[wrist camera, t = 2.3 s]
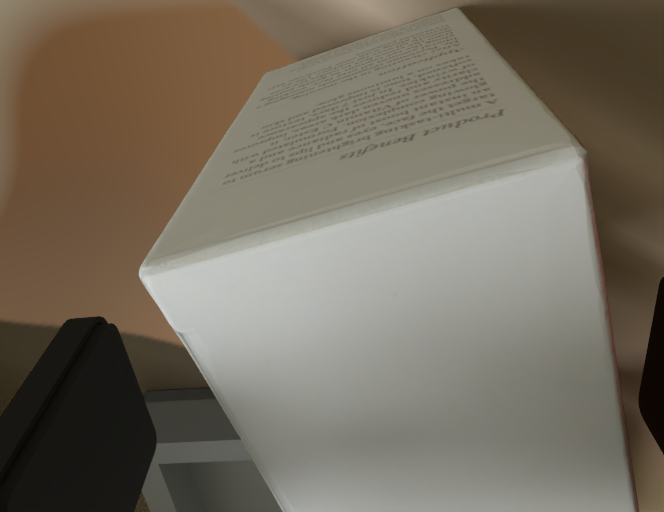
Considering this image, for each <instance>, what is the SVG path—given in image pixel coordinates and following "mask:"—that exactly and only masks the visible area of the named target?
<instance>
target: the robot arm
mask: <svg viewBox="0 0 664 512" xmlns="http://www.w3.org/2000/svg"><path fill="white" fill-rule="evenodd" d="M638 400H639V408H640V412H641V415H642V417H643V419H644V421H645V423H646V425H647V426H648V428H649V430H650V432H651V433H652V435H653V437H654V439H655V440H656V442H657V444H658V446H659V447H660V449H661V451H662V452H663V454H664V277H663V278H662V279H661V281H660V284H659V289H658V294H657V300H656V305H655V311H654V316H653V321H652V327H651V332H650V338H649V343H648V348H647V354H646V359H645V365H644V370H643V375H642V381H641V386H640V392H639V399H638ZM156 445H157V436H156V430H155V427H154V425H153V422H152V419H151V417H150V414H149V411H148V409H147V406H146V403H145V401H144V398H143V395H142V393H141V390H140V387H139V385H138V382H137V379H136V377H135V374H134V371H133V369H132V366H131V363H130V361H129V358H128V355H127V352H126V350H125V347H124V344H123V342H122V339H121V336H120V334H119V331H118V329H117V327H116V326H115V325H114V324H112V323H111V324H108V323H107V321H106V320H105V319H104V318H103V317H100V316H98V317H88V318H75V319H69V320H67V321H66V322H65V323H64V324H63V326H62V327H61V328H60V330H59V331H58V333H57V334H56V336H55V337H54V339H53V340H52V342H51V343H50V345H49V346H48V348H47V349H46V350H45V352H44V353H43V355H42V356H41V358H40V359H39V361H38V362H37V364H36V365H35V367H34V368H33V370H32V371H31V372H30V374H29V375H28V377H27V378H26V380H25V381H24V383H23V384H22V386H21V387H20V389H19V390H18V392H17V393H16V394H15V396H14V397H13V399H12V400H11V402H10V403H9V405H8V406H7V408H6V409H5V411H4V412H3V414H2V415H1V416H0V512H134V510H135V507H136V504H137V502H138V499H139V496H140V493H141V490H142V487H143V485H144V482H145V479H146V476H147V473H148V470H149V468H150V465H151V462H152V459H153V456H154V454H155V450H156Z"/></svg>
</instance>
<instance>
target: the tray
mask: <svg viewBox="0 0 664 512" xmlns="http://www.w3.org/2000/svg"><path fill="white" fill-rule="evenodd" d="M143 398H144V401H145V403H146V406H147V409H148V411H149V414H150V417H151V419H152V422H153V425H154V427H155V430H156V436H157V445H156V450H155V454H154V456H153V459H152V462H151V465H150V468H149V470H148V473H147V476H146V479H145V482H144V485H143V487H142V490H141V491H142V494H143V496H144V498H145V501H146V503H147V505H148V508H149V510H150V512H283V511H282V509H281V508H280V506H279V504H278V503H277V501H276V499H275V497H274V495H273V494H272V492H271V490H270V488H269V487H268V485H267V483H266V482H265V480H264V478H263V477H262V475H261V473H260V472H259V470H258V468H257V466H256V465H255V463H254V461H253V460H252V458H251V456H250V455H249V453H248V451H247V450H246V448H245V446H244V444H243V442H242V440H241V438H240V437H239V435H238V434H237V432H236V430H235V429H234V427H233V425H232V424H231V422H230V420H229V418H228V417H227V415H226V414H225V412H224V410H223V409H222V407H221V405H220V404H219V402H218V400H217V399H216V397H215V395H214V394H213V392H212V390H211V388H198V389H180V390H163V391H146V393H145V395H144V397H143Z"/></svg>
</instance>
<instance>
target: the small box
mask: <svg viewBox="0 0 664 512" xmlns="http://www.w3.org/2000/svg"><path fill="white" fill-rule="evenodd" d="M139 277H140V279H141V281H142V282H143V284H144V286H145V287H146V289H147V291H148V292H149V293H150V295H151V296H152V298H153V299H154V301H155V302H156V303H157V305H158V306H159V308H160V309H161V311H162V313H163V314H164V316H165V318H166V319H167V321H168V323H169V324H170V325H171V326H172V328H173V329H174V330H175V332H176V334H177V335H178V336H179V338H180V340H181V341H182V343H183V344H184V346H185V347H186V349H187V351H188V352H189V354H190V355H191V357H192V359H193V360H194V362H195V363H196V365H197V367H198V368H199V370H200V372H201V373H202V375H203V377H204V378H205V380H206V382H207V383H208V385H209V387H210V388H211V390H212V392H213V394H214V395H215V397H216V399H217V400H218V402H219V404H220V405H221V407H222V409H223V410H224V412H225V414H226V415H227V417H228V418H229V420H230V422H231V424H232V425H233V427H234V429H235V430H236V432H237V434H238V435H239V437H240V438H241V440H242V442H243V444H244V446H245V448H246V450H247V451H248V453H249V455H250V456H251V458H252V460H253V461H254V463H255V465H256V466H257V468H258V470H259V472H260V473H261V475H262V477H263V478H264V480H265V482H266V483H267V485H268V487H269V488H270V490H271V492H272V494H273V495H274V497H275V499H276V501H277V503H278V504H279V506H280V508H281V509H282V511H283V512H639V508H638V501H637V495H636V488H635V482H634V475H633V468H632V461H631V455H630V448H629V441H628V434H627V427H626V420H625V414H624V408H623V401H622V394H621V387H620V379H619V373H618V366H617V359H616V353H615V346H614V340H613V333H612V326H611V319H610V312H609V305H608V298H607V291H606V284H605V277H604V270H603V263H602V256H601V249H600V243H599V237H598V231H597V225H596V218H595V211H594V205H593V198H592V191H591V184H590V177H589V164H588V155H587V151H586V149H585V148H584V147H583V145H582V144H581V143H580V141H579V140H578V139H577V138H576V137H575V136H574V135H573V134H572V133H571V132H570V131H569V130H568V129H567V128H566V127H565V125H564V124H563V123H562V122H561V121H560V119H559V118H558V117H557V116H556V115H555V114H554V113H553V112H552V110H551V109H550V108H549V107H548V106H547V105H546V104H545V103H544V102H543V101H542V100H541V99H540V98H539V97H538V96H537V94H536V93H535V92H534V91H533V90H532V88H531V87H530V86H529V85H528V84H527V83H526V82H525V81H524V80H523V78H522V77H521V76H520V75H519V74H518V73H517V72H516V71H515V70H514V69H513V68H512V67H511V66H510V64H509V63H508V62H507V61H506V60H505V59H504V58H502V56H501V55H500V54H499V53H498V52H497V50H496V49H495V48H494V47H493V46H492V45H491V44H490V42H489V41H488V40H487V39H486V38H485V37H484V35H483V34H482V33H481V32H480V31H479V30H478V29H477V28H476V27H475V26H474V25H473V24H472V23H471V21H470V20H469V19H468V18H467V17H466V16H465V15H464V14H463V12H462V11H461V10H460V9H459V8H453V9H450V10H447V11H444V12H441V13H438V14H435V15H432V16H428V17H425V18H422V19H419V20H416V21H413V22H410V23H407V24H404V25H401V26H398V27H395V28H392V29H389V30H386V31H384V32H381V33H378V34H375V35H372V36H369V37H366V38H364V39H361V40H358V41H355V42H352V43H349V44H346V45H343V46H341V47H338V48H335V49H332V50H329V51H326V52H323V53H320V54H317V55H314V56H311V57H309V58H306V59H303V60H300V61H297V62H294V63H292V64H289V65H286V66H284V67H281V68H278V69H276V70H272V71H269V72H267V73H265V74H264V75H263V78H262V79H261V80H260V82H259V84H258V85H257V87H256V88H255V90H254V91H253V93H252V95H251V96H250V97H249V99H248V101H247V103H246V104H245V105H244V107H243V108H242V110H241V111H240V113H239V114H238V116H237V117H236V119H235V121H234V122H233V124H232V125H231V127H230V128H229V129H228V131H227V132H226V134H225V136H224V137H223V138H222V140H221V142H220V143H219V145H218V147H217V148H216V150H215V151H214V153H213V154H212V156H211V157H210V159H209V160H208V161H207V163H206V165H205V167H204V169H203V170H202V171H201V172H200V174H199V176H198V178H197V179H196V181H195V182H194V184H193V185H192V187H191V188H190V190H189V192H188V193H187V195H186V196H185V197H184V199H183V201H182V202H181V204H180V206H179V207H178V209H177V210H176V212H175V213H174V215H173V216H172V218H171V219H170V221H169V223H168V224H167V226H166V227H165V229H164V231H163V232H162V234H161V235H160V237H159V238H158V240H157V241H156V243H155V244H154V245H153V247H152V248H151V250H150V252H149V253H148V255H147V256H146V258H145V260H144V261H143V263H142V265H141V266H140V270H139Z"/></svg>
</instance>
